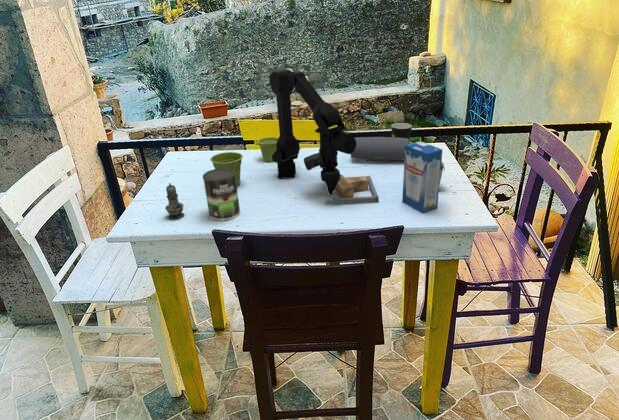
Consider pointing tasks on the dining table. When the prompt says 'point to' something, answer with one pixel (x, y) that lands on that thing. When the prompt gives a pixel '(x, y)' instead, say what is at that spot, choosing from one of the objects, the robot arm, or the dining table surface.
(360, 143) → the bluetooth speaker
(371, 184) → the fence pocket
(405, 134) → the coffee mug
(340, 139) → the robot arm
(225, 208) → the coffee can
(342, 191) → the t block
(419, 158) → the milk carton
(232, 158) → the plant pot
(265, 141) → the plant pot
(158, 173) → the dining table surface
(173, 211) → the grey tall tiered piece
